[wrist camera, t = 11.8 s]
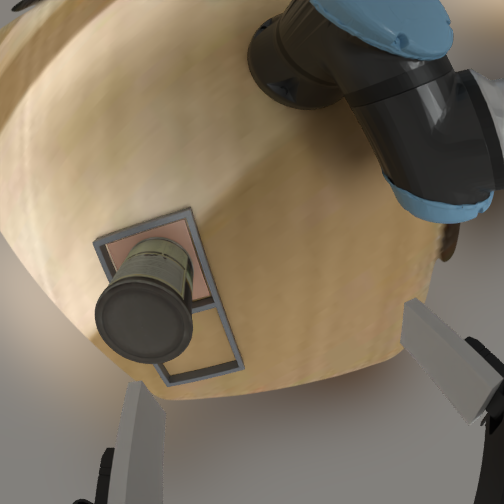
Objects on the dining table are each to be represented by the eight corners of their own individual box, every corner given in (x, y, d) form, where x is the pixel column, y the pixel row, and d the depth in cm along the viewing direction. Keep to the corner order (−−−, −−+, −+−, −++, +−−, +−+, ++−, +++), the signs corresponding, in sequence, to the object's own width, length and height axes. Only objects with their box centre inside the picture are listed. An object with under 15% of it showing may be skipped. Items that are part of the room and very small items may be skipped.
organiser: (190, 206, 36) (190, 209, 35) (243, 361, 47) (244, 369, 45) (97, 238, 35) (92, 242, 34) (167, 379, 46) (167, 387, 44)
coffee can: (207, 282, 40) (211, 342, 27) (150, 311, 40) (135, 375, 27) (170, 222, 36) (153, 261, 23) (112, 257, 36) (75, 307, 23)
